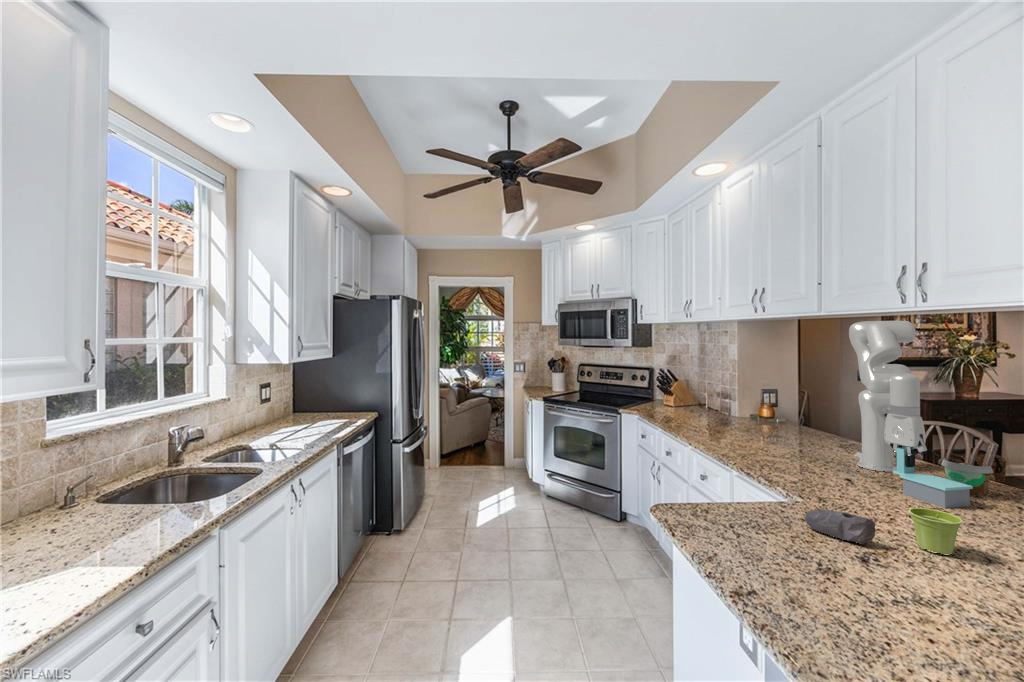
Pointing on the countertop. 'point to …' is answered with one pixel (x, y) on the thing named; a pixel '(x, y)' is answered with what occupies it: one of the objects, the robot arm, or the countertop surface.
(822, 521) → the perforated stone tool
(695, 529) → the countertop surface
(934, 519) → the plant pot
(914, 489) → the tub
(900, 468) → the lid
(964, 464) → the food container
